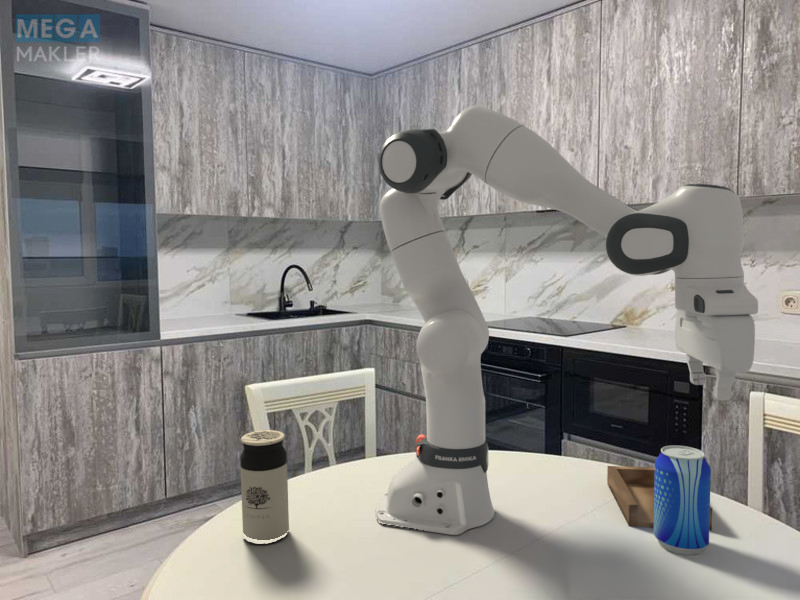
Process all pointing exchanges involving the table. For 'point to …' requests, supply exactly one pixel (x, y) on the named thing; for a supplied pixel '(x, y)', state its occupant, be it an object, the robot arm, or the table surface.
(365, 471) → the table surface
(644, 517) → the open box
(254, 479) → the travel mug
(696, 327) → the robot arm
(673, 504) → the beer can
